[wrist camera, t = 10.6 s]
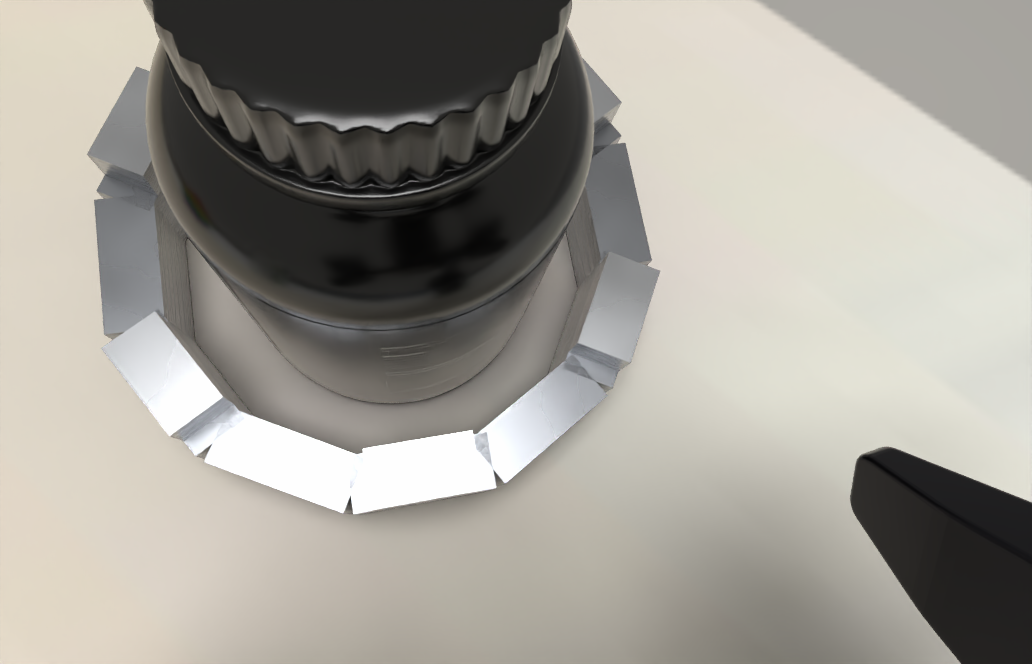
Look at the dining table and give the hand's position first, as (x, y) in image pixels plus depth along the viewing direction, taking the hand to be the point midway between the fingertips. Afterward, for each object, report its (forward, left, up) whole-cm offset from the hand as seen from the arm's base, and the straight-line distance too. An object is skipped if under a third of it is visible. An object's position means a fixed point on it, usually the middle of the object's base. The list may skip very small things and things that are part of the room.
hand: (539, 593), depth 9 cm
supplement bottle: (+3, +7, -10) cm, 12 cm away
